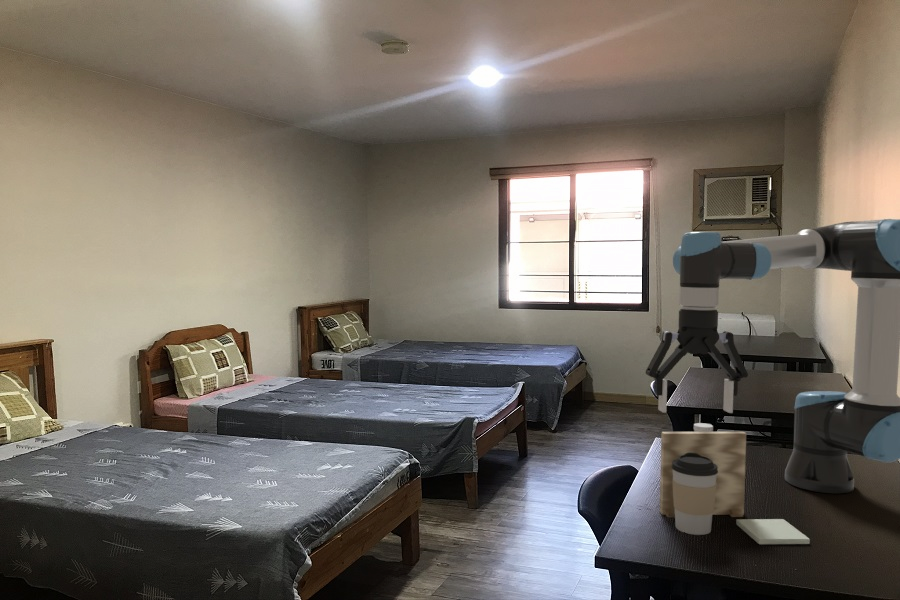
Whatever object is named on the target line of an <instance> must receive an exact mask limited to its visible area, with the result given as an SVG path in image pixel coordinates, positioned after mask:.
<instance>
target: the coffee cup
mask: <svg viewBox="0 0 900 600" xmlns="http://www.w3.org/2000/svg"><path fill="white" fill-rule="evenodd" d="M671 467H672V469H673V479H672V480H673V500H674V508H675V517H674V519H675V520H674V521H675V525H674V526H675V528H676V529H677V530H678V531H680V532H681V533H684V532H685V533H686V534H688V535H695V536H701V535H708V534H710V533H711V531H712V522H713V515H712V514H713V512H714V504H715V494H716V485H717V483H716V476H717V473H718V470H717V469H718V466H717V465H716V464H714V463H713V461H712V460H711V459H710V458H707V457H704V456H701V455H699V454H697V453H686V454H684V455H680V456H678V457H677V459H676V460H674V461H673V462H672V466H671Z"/></svg>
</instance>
